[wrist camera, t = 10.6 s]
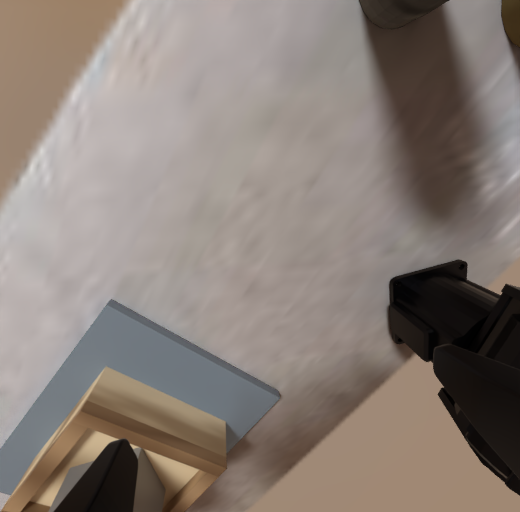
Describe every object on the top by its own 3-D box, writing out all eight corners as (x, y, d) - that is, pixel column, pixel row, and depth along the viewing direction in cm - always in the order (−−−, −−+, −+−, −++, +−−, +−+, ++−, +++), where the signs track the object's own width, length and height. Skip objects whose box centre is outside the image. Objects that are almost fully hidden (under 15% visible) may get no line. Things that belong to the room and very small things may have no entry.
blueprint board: (111, 299, 19) (106, 304, 18) (278, 390, 24) (280, 398, 23) (-18, 474, 22) (-27, 485, 21) (152, 522, 27) (150, 532, 26)
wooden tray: (105, 366, 20) (80, 411, 16) (225, 421, 23) (226, 468, 19) (33, 460, 21) (-5, 519, 18) (154, 498, 25) (143, 554, 21)
